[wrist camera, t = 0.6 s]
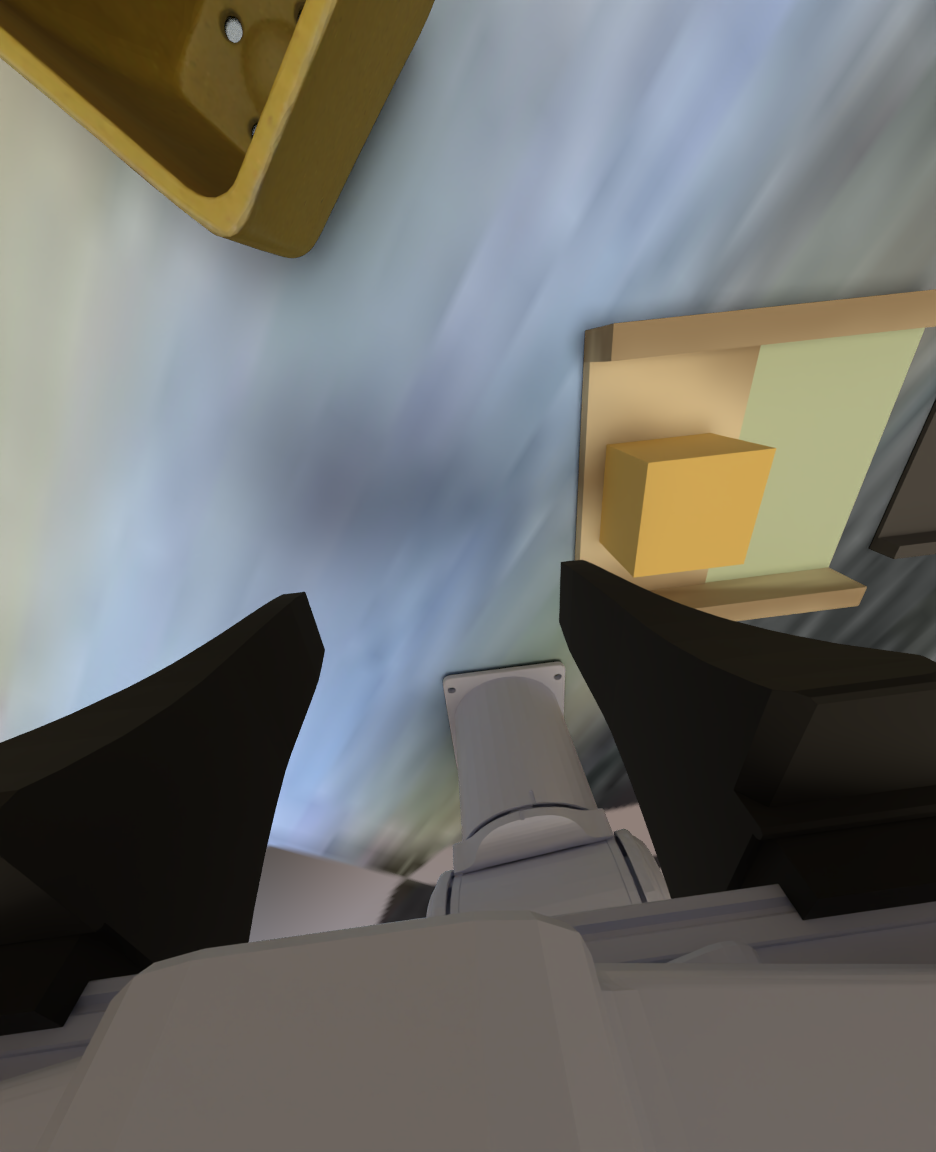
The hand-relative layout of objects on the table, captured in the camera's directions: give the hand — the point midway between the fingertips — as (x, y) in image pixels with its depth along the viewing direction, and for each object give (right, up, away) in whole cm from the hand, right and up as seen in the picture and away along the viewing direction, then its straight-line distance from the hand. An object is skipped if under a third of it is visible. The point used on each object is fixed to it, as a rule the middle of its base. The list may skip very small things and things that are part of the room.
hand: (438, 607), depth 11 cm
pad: (+18, +6, +9) cm, 21 cm away
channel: (+14, +6, +9) cm, 18 cm away
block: (+10, +5, +8) cm, 14 cm away
